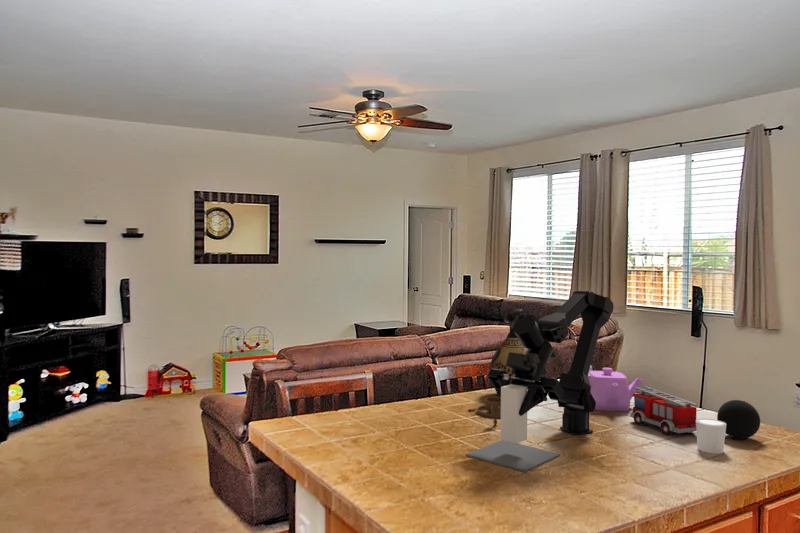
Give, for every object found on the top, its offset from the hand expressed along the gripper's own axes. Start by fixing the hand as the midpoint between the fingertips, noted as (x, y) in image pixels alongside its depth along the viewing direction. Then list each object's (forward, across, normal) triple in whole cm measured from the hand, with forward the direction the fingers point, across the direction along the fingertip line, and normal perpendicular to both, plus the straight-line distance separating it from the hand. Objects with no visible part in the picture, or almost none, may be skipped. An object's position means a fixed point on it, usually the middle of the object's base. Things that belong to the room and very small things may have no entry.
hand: (510, 412), depth 142 cm
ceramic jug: (-33, -36, +48) cm, 69 cm away
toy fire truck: (-29, +17, +45) cm, 56 cm away
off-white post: (+4, 0, +6) cm, 7 cm away
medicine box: (-54, -23, +69) cm, 91 cm away
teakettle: (-39, -5, +55) cm, 68 cm away
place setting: (-12, -25, +28) cm, 39 cm away
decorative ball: (-32, +35, +48) cm, 67 cm away
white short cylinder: (-21, +32, +36) cm, 53 cm away
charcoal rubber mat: (+6, 0, +8) cm, 10 cm away
